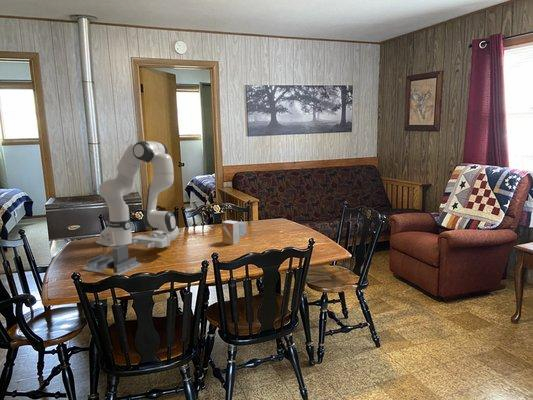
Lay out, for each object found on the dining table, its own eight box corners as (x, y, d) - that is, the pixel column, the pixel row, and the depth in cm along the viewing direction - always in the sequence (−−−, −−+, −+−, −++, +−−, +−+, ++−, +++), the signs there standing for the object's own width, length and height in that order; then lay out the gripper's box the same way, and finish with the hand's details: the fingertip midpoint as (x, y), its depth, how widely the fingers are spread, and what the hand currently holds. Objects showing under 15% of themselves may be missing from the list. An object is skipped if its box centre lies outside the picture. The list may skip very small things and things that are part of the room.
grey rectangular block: (113, 268, 191) (112, 248, 190) (124, 264, 198) (122, 244, 196) (118, 269, 190) (117, 249, 188) (129, 264, 196) (127, 245, 195)
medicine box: (241, 234, 257) (241, 221, 256) (246, 235, 254) (246, 222, 253) (233, 236, 251) (232, 223, 250) (238, 237, 248) (238, 224, 247)
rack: (81, 270, 193) (81, 261, 192) (107, 259, 208) (107, 251, 207) (116, 276, 184) (116, 267, 184) (141, 265, 199) (140, 256, 199)
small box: (222, 243, 237) (221, 222, 234) (228, 240, 242) (227, 219, 240) (233, 245, 233) (232, 223, 230) (239, 242, 238) (239, 221, 236)
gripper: (141, 231, 221) (123, 237, 208) (171, 234, 213) (154, 241, 200) (142, 242, 222) (124, 248, 210) (172, 245, 214) (155, 253, 201)
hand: (139, 245), depth 205 cm, fingers open, 8 cm apart
